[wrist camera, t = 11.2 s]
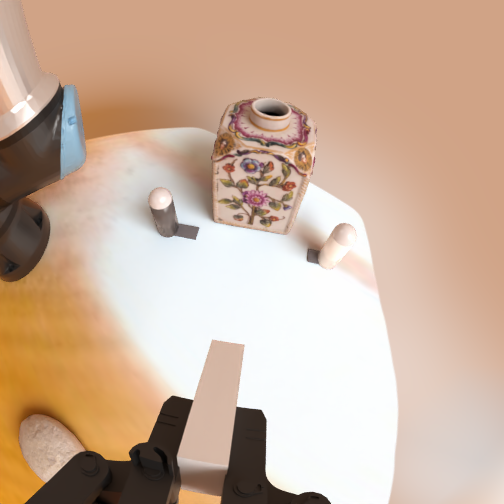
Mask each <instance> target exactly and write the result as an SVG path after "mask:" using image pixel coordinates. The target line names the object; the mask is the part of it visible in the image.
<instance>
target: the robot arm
mask: <svg viewBox="0 0 504 504" xmlns="http://www.w3.org/2000/svg"><path fill="white" fill-rule="evenodd" d="M85 159H86V144H85V136H84V129H83V122H82V116H81V109H80V103H79V98H78V93H77V90H76V87H75V85H65V86H64V87H63V88H62V87H61V85H60V82H59V79H58V77H57V76H56V75H55V74H53V73H47V72H42V70H41V67H40V65H39V62H38V59H37V56H36V53H35V50H34V47H33V43H32V40H31V37H30V33H29V30H28V26H27V23H26V19H25V15H24V11H23V7H22V2H21V0H0V279H2V280H4V281H7V282H13V281H17V280H19V279H21V278H23V277H24V276H26V275H27V274H28V273H29V272H30V271H31V270H32V269H33V268H34V267H35V266H36V264H37V263H38V262H39V260H40V259H41V257H42V255H43V253H44V251H45V249H46V246H47V243H48V240H49V235H50V222H49V218H48V216H47V214H46V213H45V212H44V210H43V209H42V208H41V206H40V205H38V204H37V203H35V202H34V201H32V200H30V199H28V198H26V196H28V195H29V194H31V193H33V192H35V191H37V190H39V189H41V188H43V187H45V186H47V185H49V184H52V183H54V182H56V181H58V180H61V179H63V178H64V177H65V176H66V175H68V174H70V173H72V172H74V171H76V170H78V169H79V168H80V167H81V166H82V165H83V164H84V162H85ZM243 352H244V345H242V344H235V343H229V342H223V341H217V340H212V342H211V346H210V349H209V352H208V355H207V358H206V362H205V365H204V368H203V371H202V375H201V378H200V381H199V384H198V388H197V391H196V394H195V397H194V400H190V399H186V398H181V397H177V396H171V397H170V398H169V399H168V400H167V401H166V402H164V404H163V406H162V408H161V411H160V414H159V416H158V418H157V421H156V423H155V426H154V428H153V430H152V433H151V435H150V438H149V440H148V442H146V443H140V444H138V445H136V446H134V447H132V449H131V450H130V451H129V455H130V458H131V460H130V461H112V460H105V459H104V458H103V457H102V456H101V455H100V454H98V453H96V452H93V451H83V452H79V453H78V454H76V455H74V456H73V457H72V458H71V459H70V460H69V461H68V462H67V463H66V464H65V465H64V466H63V467H62V468H61V469H60V470H59V471H58V472H57V473H56V474H55V475H54V476H53V477H52V478H51V479H50V480H49V481H48V482H47V483H46V484H45V485H44V486H43V487H42V488H40V489H39V490H38V491H37V492H36V493H35V494H34V495H33V496H32V497H31V498H30V499H29V500H28V501H27V502H26V503H25V504H178V502H179V499H178V495H179V491H180V487H181V489H183V490H188V491H193V492H198V493H203V494H209V495H215V496H222V497H221V504H331V503H330V501H329V500H328V499H327V498H326V497H325V496H323V495H322V494H319V493H315V492H305V493H302V494H299V495H296V494H292V493H289V492H286V491H282V490H280V489H278V488H276V487H274V486H273V485H272V484H271V483H270V482H269V481H268V479H267V477H266V472H265V465H266V418H265V416H264V414H263V412H262V410H258V409H249V408H241V407H236V405H237V397H238V390H239V382H240V375H241V367H242V360H243Z"/></svg>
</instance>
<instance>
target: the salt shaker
mask: <svg viewBox="0 0 504 504" xmlns="http://www.w3.org/2000/svg"><path fill="white" fill-rule="evenodd" d="M356 237H357V235H356V231H355V229H354V227H353V226H351V225H350V224H347V223H341V224H339V225H337V226H336V227H335V228H334V230H333V231H332V233H331V234H330V236H329V238H328V239H327V241H326V242H325V244H324V246H323V247H322V249H321V250H320V252H319V254H318V262H319V265H320V266H321V267H323V268H324V269H333V268H334V267H335V266H336V265H337V264H338V263H339V262H340V260H341V259H342V258H343V257H344V255H345V254H346V253H347V252H348V250H349V249H350V248H351V247H352V245H353V244H354V243H355V241H356Z"/></svg>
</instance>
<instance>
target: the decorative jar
mask: <svg viewBox="0 0 504 504" xmlns="http://www.w3.org/2000/svg"><path fill="white" fill-rule="evenodd" d="M316 132H317V128H316V123H315V122H314V121H313V120H312V119H311V118H310V117H309V116H308V115H307V114H306V113H304V112H303V111H301V110H300V109H298V108H297V107H295V106H294V105H292V104H291V103H287V102H283V101H280V100H278V99H274V98H261V97H259V98H253V99H249V100H242V101H240V102H237V103H233V104H230V105H229V106H227V108H226V110H225V112H224V115H223V116H222V118H221V122H220V126H219V130H218V132H217V139H216V141H215V145H214V152H213V155H212V156H211V159H212V198H213V218H214V222H216V223H222V224H228V225H232V226H238V227H244V228H250V229H256V230H262V231H268V232H273V233H279V234H284V235H287V234H288V233H289V231H290V229H291V227H292V225H293V223H294V220H295V218H296V215H297V213H298V210H299V207H300V204H301V202H302V200H303V197H304V195H305V192H306V189H307V186H308V183H309V180H310V176H311V175H312V173H313V166H314V163H315V157H314V153H315V150H316Z"/></svg>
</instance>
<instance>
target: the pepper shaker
mask: <svg viewBox="0 0 504 504" xmlns="http://www.w3.org/2000/svg"><path fill="white" fill-rule="evenodd" d="M148 202H149V205H150V208H151V211H152V214H153V217H154V220H155V223H156V226H157V228H158V231H159V233H160V235H161V236H163V237H172V236H174V234H175V233H176V232H177V231H178V229H179V224H178V220H177V216H176V211H175V207H174V202H173V198H172V194H171V193H170V191H169V190H168V189H166V188H163V187H159V188H156V189H154V190H153V191H152V192H151V193H150V195H149V198H148Z"/></svg>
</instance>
